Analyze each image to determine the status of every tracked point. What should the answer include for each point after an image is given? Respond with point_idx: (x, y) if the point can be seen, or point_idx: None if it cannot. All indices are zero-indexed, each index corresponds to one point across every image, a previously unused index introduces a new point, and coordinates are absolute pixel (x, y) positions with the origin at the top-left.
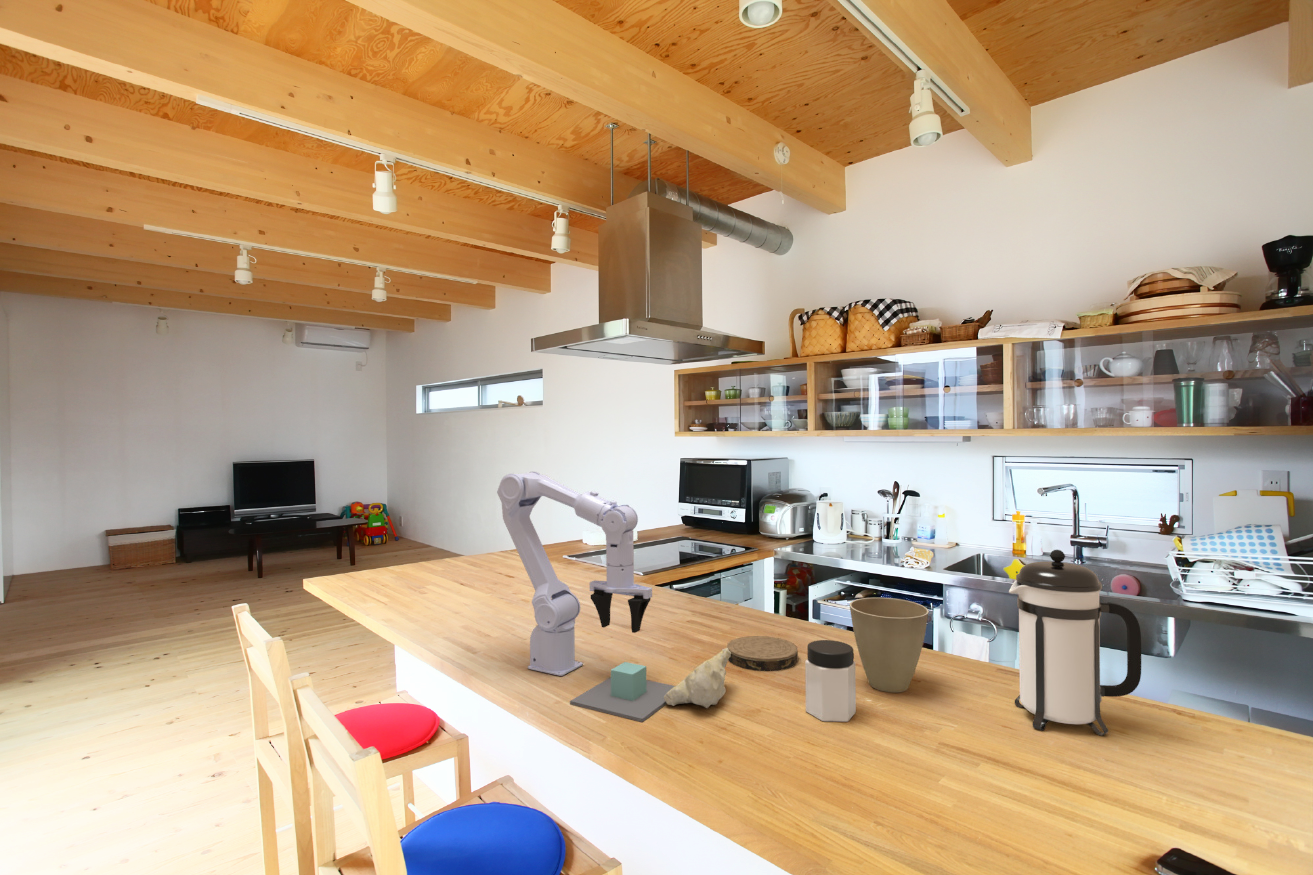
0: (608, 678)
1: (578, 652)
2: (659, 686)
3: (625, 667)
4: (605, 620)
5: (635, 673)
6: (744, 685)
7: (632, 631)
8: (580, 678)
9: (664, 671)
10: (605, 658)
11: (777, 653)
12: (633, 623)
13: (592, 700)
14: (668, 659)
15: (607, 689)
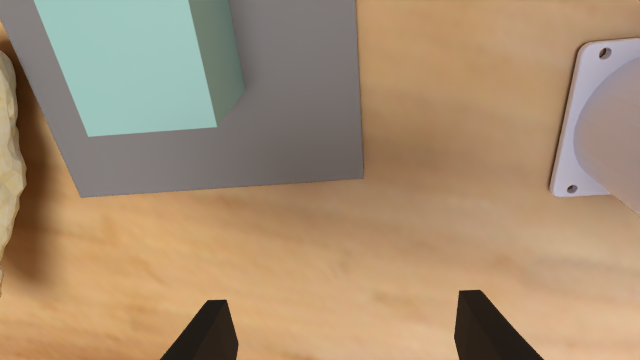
0: (360, 123)
1: (632, 274)
2: (149, 164)
3: (150, 60)
4: (472, 342)
5: (45, 22)
6: (5, 303)
7: (219, 303)
8: (485, 80)
9: (254, 280)
10: (501, 276)
11: None
12: (177, 346)
13: None
14: (308, 350)
15: (286, 25)
